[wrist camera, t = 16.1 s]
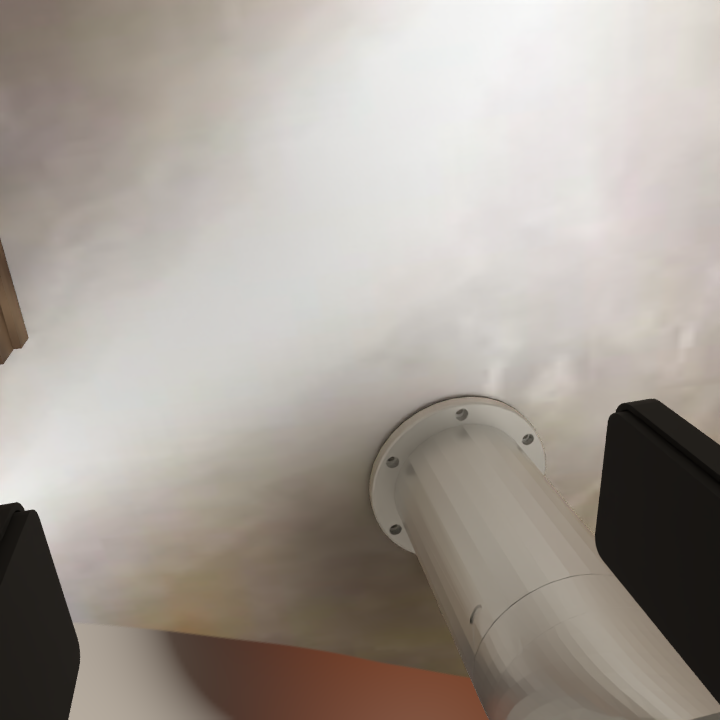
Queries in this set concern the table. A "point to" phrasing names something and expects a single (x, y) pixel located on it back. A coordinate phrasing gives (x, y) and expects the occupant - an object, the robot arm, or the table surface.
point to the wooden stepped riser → (9, 314)
